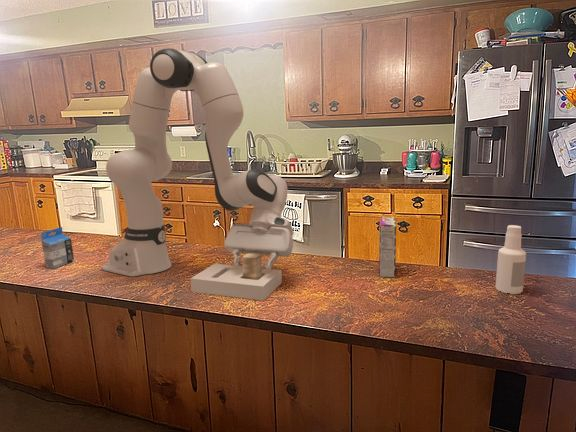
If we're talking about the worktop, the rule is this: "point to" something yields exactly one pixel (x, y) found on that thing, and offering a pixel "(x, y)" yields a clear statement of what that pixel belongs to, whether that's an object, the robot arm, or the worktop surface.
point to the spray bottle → (511, 263)
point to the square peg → (252, 266)
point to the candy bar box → (387, 247)
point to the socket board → (235, 282)
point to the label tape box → (56, 248)
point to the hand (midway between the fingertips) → (251, 266)
